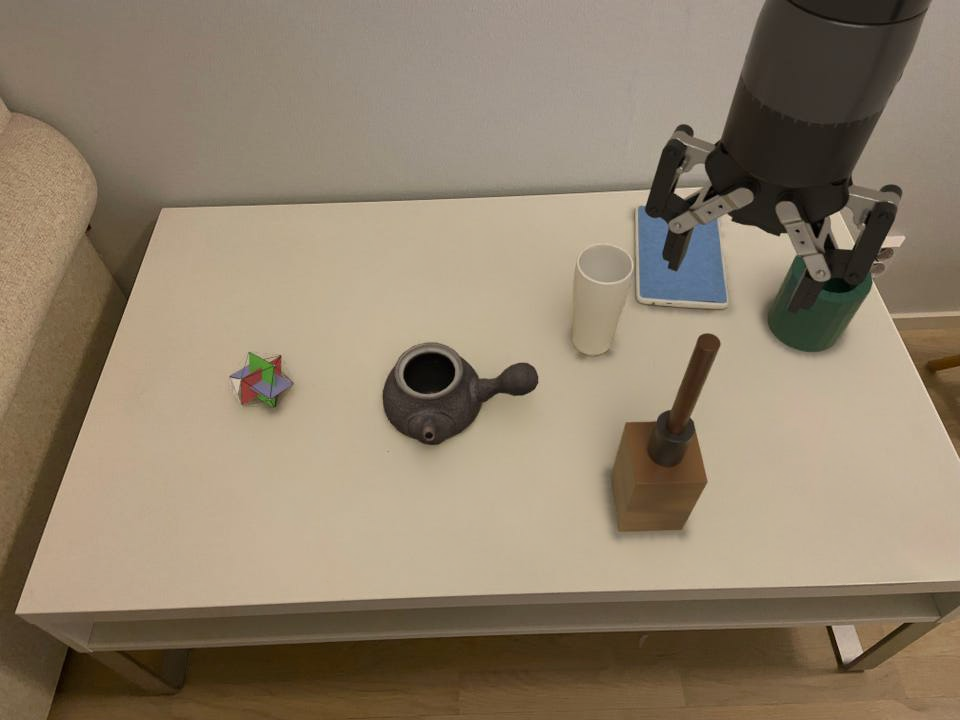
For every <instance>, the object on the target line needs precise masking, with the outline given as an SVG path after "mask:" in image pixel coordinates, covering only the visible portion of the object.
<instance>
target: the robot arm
mask: <svg viewBox="0 0 960 720" xmlns="http://www.w3.org/2000/svg"><path fill="white" fill-rule="evenodd" d="M932 2H933V0H765V1H764V2H763V5H762V7H761V9H760V12H759V14H758V16H757V19H756V21H755V25H754V28H753V31H752V35H751V37H750V41H749V43H748V47H747V51H746V54H745V57H744V61H743V64H742V66H741V71H740V74H739V77H738V81H737V84H736V87H735V90H734V94H733V97H732V100H731V104H730V107H729V110H728V113H727V117H726V120H725V124H724V127H723V131H722V134H721V137H720V139H719V140H718V141H716V142H715V143H711V142H709V141H706V140H703V139H700V138H697V137H695V136H694V133H695V132H694V129H693V127H692V126H691V125H689V124H687V123H681V124H679V125H677V126H676V128H675V129H674V131H673V132H672V133H671V136H670V138H669V139H668V140H667V142H666V144H665V145H664V147H663V148H662V150H661V154H660V157H659V160H658V164H657V166H656V171H655V173H654V177H653V181H652V184H651V187H650V190H649V194H648V197H647V200H646V203H645V204H646V205H645V206H646V207H645V212H646V214H647V215H648V216H650V217H652V218H659V217H660V218H662V219H663V220H665V221H666V223H667V224H668V233H667V237H666V241H665V244H664V248H663V252H662V256H663V260H666V261H669V264H668V269H670V270H673V271H676V272H677V271H678V269H679V267H680V265H681V263H682V261H683V259H684V257H685V255H686V252H687V249H688V246H689V242H690V239H691V236H692V232H693V229H694V227H695V226H697V225H699V224H702V225H705V224H707V223H709V222H711V221H713V220H715V219H717V218H719V219H720V218H721V217H723V216H725V215H728V216H729V217H731V219H730V221H731V222H732V223H736V224H738V225H742V226H749V227H756V228H758V229H759V230H761V231H763V232H765V233H767V234H769V235H773V236H776V237H780V236H781V234H787V235H788V237H789V240H790V242H791V244H792V247H793V249H794V251H795V253H796V255H798V256H799V257H803V259H804V262H805V264H806V268H805V270H804V272H803V274H802V276H801V278H800V279H799V281H798V283H797V285H796V287H795V289H794V292H793V294H792V296H791V299H790V301H789V304H788V307H787V309H786V311H788V312H791V313H793V314H797V312H798V310H799V308H802V309H804V310H808V309H809V308H811V307H812V306H813V304H814V303H815V301H816V299H817V297H818V295H819V294H820V292H821V290H822V288H823V286H824V284H825V283H826V282H827V281H828V280H829V279H832V278H843V279H844V281H845V282H847V283H848V284H851V285H858V284H861V283H862V282H863V281H864V280H865V278H866V276H867V274H868V272H869V271H870V270H871V268H872V266H873V264H874V262H875V260H876V258H877V256H878V254H879V252H880V250H881V249H882V246H883V245H884V242H885V240H886V238H887V236H888V234H889V233H890V231H891V229H892V227H893V225H894V222H895V221H896V216H897V214H898V211H899V207H900V204H901V200H902V196H903V189H902V188H901V187H900V186H898V185H897V184H892V183H891V184H890V183H889V184H885V185H883V186H882V187H881V188H880V189H879V190H876V189H872V188H869V187H863V186H859V185H856V184H854V181H853V173H854V170H855V167H856V166H857V164H858V163H859V159H861V156H862V153H863V152H864V150H865V148H866V146H867V144H868V143H869V140H870V138H871V136H872V134H873V133H874V130H875V128H876V126H877V125H878V122H879V121H880V118H881V116H882V115H883V112H884V110H885V108H886V106H887V104H888V102H889V101H890V100H889V99H890V98H891V96H892V94H893V92H894V91H895V89H896V86H897V84H898V83H899V82H900V81H901V78H902V77H903V74H904V71H905V68H906V67H907V64H908V63H909V60H910V58H911V56H912V53H913V52H914V49H915V47H916V44H917V40H918V38H919V35H920V32H921V29H922V27H923V23H924V21H925V18H926V15H927V13H928V10H929V8H930V7H931V6H930V5H931V4H932ZM698 164H699V165H700V164H702V165H704V171H705V173H706V176H707V178H708V180H709V181H707V182H706V183H705V184H704V185H703V186H702V187H701V188H700V189H698V190H696V191H695V192H693V193H691V194H689V195H688V196H686V197H684V198H682V197H681V196H679V195H678V194H677V193H676V189H677V187H678V184H679V183H678V182H679V180H680V176H681V175H683V174H684V173H689V172H690V171H692V170H693V168H694V166H696V165H698ZM844 208H848V209H850V210H851V212H852V213H853V214H852V215H853V217H852V222H853V224H854V225H855V226H856V228H857V230H859V233H858V236H857V237H856V240H855V243H854V244H853V246H852V248H851V249H846V248H839V246H838V243H837V240H836V238H835V235H834V233H833V231H832V221H831V220H832V219H831V216H832V215H835V214H837V213H839V212H841V211H842V210H843V209H844Z"/></svg>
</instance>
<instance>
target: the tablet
mask: <svg viewBox="0 0 960 720" xmlns="http://www.w3.org/2000/svg"><path fill="white" fill-rule="evenodd" d="M645 207H646V205H642V204H641V205H637V206H636V208H635V209H634V220H635V221H634V229H635V230H634V233H635V235H634V236H635V238H634V239H635V289H636V290H635V297H636V301H637V302H639V303H640V304H642V305H643V304H644V305H654V306H661V307H674V308H675V307H676V308H688V309H704V310H725V309H727V308H728V307H729V304H730V298H729V290H728V282H727V273H726V266H725V265H726V264H725V256H724V248H723V237H722V231H721V230H722V229H721V223H720V217H719V218H717V219H715V220H713V221H711V222H709V223H707V224H705V225H702V224H699V225H697V226H695V227H694V229H693V232H692V236H691V239H690V242H689V246H688V249H687V252H686V255H685V257H684V259H683V261H682V263H681V265H680V267H679V269H678V271H677V272H676V271H673V270H670V269H668V264H669V261H666V260H663V256H662V252H663V248H664V244H665V241H666V237H667V233H668V224H667V223H666V221H665V220H663V219H662V218H660V217H659V218H652V217H650V216H648V215H647V214H646V212H645Z"/></svg>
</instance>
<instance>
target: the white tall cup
mask: <svg viewBox="0 0 960 720" xmlns="http://www.w3.org/2000/svg"><path fill="white" fill-rule="evenodd" d="M634 270H635V264H634V260H633V258H632V256H631V255H630V253H629V252H628V251H626V250H625V249H624V248H623V247H620V246H618V245H615V244H611V243H605V242H603V243H602V242H601V243H594V244H591V245H588V246H587V247H585V248H583V249H582V250H581V251H580V252H579V254H578V255H577V259H576V263H575V268H574V274H573V283H572V332H571V342H572V344H573V346H574V348H575V350H577V351H578V352H580V353H582V354H583V355H586V356H599V355H602V354H604V353H606V352H608V350H609V349H610V348H611V346H612V344H613V340H614V336H615V333H616V329H617V328H618V327H617V326H618V324H619V322H620V319H621V316H622V314H623V309H624V308H625V306H626V302H627V299H628V296H629V293H630V290H631V286H632V282H633V281H632V280H633V277H634Z"/></svg>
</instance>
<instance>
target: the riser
mask: <svg viewBox="0 0 960 720" xmlns="http://www.w3.org/2000/svg"><path fill="white" fill-rule="evenodd" d="M656 421H657V420H656ZM656 421H626V422H625V423H624V428H623V430H622V434H621V436H620V437H621V438H620V441H619V445H618V448H617V452H616V455H615V457H614V463H613V466H612V470H611V472H610V479H611V487H612V495H613V500H614V508H615V514H616V521H617V529H618V532H619V533H622V532H624V533H625V532H628V533H629V532H655V531H656V532H659V531H682V530H683V529H684V526H685V525H686V523H687V522H688V519H689V517H690V515H691V513H692V512H693V510H694V508H695V507H696V505H697V504H698V501H699V499H700V497H701V495H702V494H703V492H704V490H705V488H706V486H707V485H708V483H709V482H708V481H709V480H708V477H707V473H706V469H705V468H706V467H705V464H704V460H703V456H702V451H701V447H700V442H699V438H698V434H697V429H696V428H695V433H694V435H693V437H692V440H691V442H690V444H689V446H688V448H687V451H686V453H685V455H684V457H683V459H682V461H681V462H680V463H679V464H678V465H676V466H673V467H664V466H660V465H658V464H656V463H655V462H654V461H653V460H652V459H651V458H650V456H649V454H648V444H649V441H650V438H651V435H652V432H653V429H654V427H655V424H656ZM693 422H694V420H693ZM694 423H695V422H694Z"/></svg>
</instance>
